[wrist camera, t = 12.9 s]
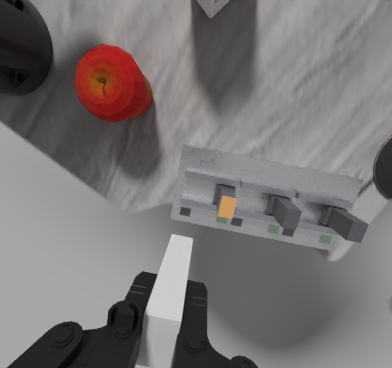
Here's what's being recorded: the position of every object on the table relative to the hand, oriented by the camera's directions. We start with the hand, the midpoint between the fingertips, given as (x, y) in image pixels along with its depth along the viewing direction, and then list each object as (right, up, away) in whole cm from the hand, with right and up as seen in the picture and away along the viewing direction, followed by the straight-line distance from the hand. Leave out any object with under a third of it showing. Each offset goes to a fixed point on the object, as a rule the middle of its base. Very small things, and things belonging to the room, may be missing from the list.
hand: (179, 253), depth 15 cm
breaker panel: (+12, +3, +22) cm, 25 cm away
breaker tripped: (+6, +3, +20) cm, 21 cm away
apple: (-9, +19, +19) cm, 29 cm away
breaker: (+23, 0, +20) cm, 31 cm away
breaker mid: (+15, +2, +20) cm, 25 cm away
